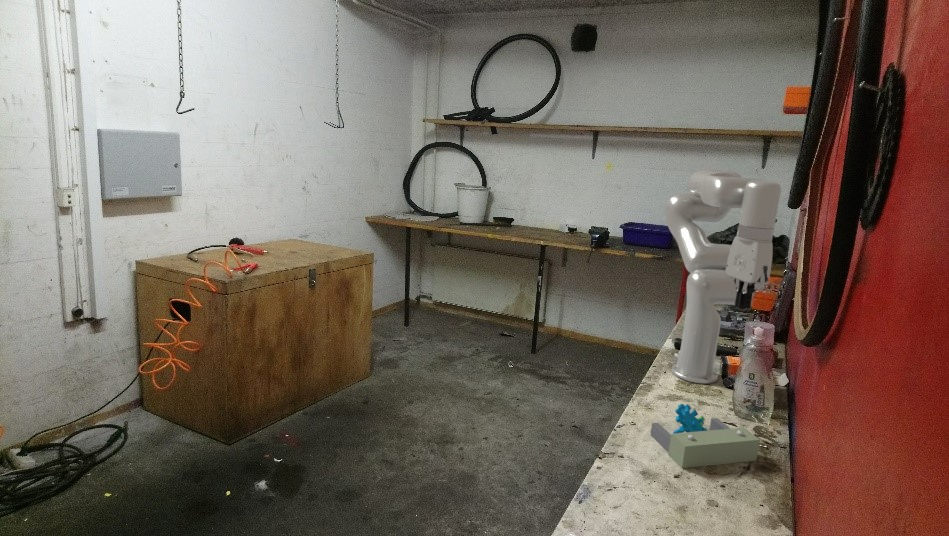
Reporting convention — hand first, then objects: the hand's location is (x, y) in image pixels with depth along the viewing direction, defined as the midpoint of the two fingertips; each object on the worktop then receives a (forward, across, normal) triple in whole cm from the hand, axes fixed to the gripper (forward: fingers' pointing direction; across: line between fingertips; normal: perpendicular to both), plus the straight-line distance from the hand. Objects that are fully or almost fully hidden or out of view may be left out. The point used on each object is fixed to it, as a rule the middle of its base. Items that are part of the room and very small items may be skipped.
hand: (742, 307), depth 134 cm
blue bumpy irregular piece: (+27, +12, -18) cm, 35 cm away
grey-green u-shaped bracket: (+27, +15, -18) cm, 36 cm away
